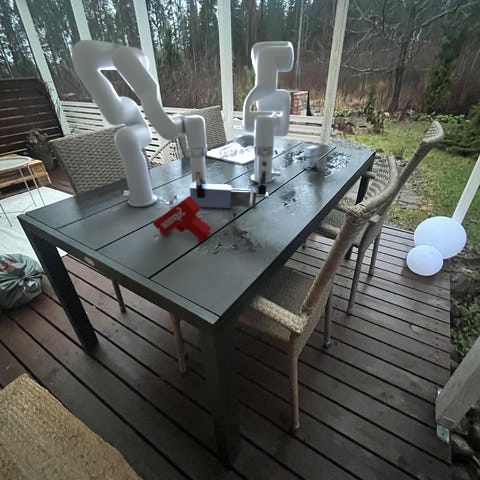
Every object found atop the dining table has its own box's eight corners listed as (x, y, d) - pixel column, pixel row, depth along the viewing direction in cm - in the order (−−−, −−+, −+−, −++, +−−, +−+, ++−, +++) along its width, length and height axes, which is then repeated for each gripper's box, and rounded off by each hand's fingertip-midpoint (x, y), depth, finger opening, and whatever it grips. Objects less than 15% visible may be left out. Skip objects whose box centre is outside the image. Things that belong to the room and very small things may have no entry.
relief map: (243, 164, 168) (243, 156, 165) (202, 155, 186) (201, 147, 183) (266, 154, 186) (267, 146, 183) (227, 147, 204) (226, 140, 201)
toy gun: (217, 229, 94) (190, 194, 90) (212, 235, 91) (184, 199, 87) (184, 248, 104) (159, 217, 100) (179, 254, 101) (152, 223, 97)
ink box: (309, 164, 167) (312, 144, 161) (316, 166, 164) (319, 146, 158) (301, 167, 162) (304, 147, 156) (308, 169, 159) (311, 148, 153)
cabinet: (230, 203, 121) (231, 184, 116) (230, 209, 116) (231, 190, 111) (192, 202, 120) (191, 182, 115) (190, 208, 115) (189, 188, 110)
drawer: (266, 204, 120) (268, 189, 116) (267, 208, 116) (269, 193, 112) (218, 202, 119) (219, 186, 115) (218, 206, 116) (218, 190, 112)
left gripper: (190, 145, 112) (195, 187, 122) (184, 157, 98) (190, 203, 108) (208, 145, 112) (212, 186, 122) (204, 156, 98) (209, 202, 108)
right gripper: (275, 155, 99) (272, 201, 109) (271, 145, 112) (268, 187, 122) (255, 155, 99) (254, 201, 109) (253, 145, 112) (252, 187, 122)
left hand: (202, 194), depth 115 cm, fingers closed on cabinet, 5 cm apart
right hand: (261, 193), depth 115 cm, fingers closed
